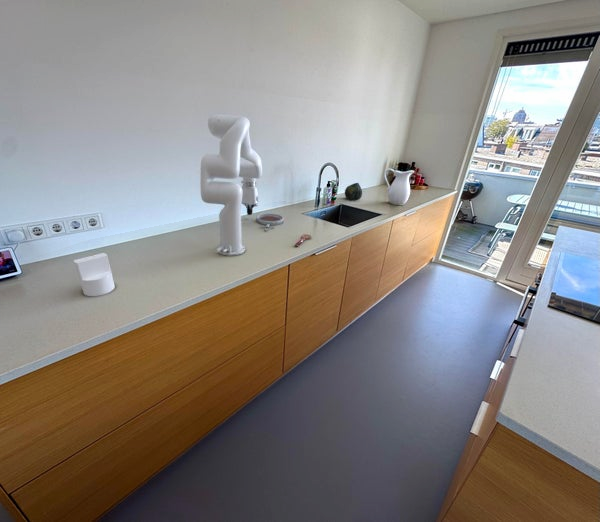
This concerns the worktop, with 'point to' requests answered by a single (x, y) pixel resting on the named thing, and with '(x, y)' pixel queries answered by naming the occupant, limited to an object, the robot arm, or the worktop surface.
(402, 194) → the pitcher
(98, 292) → the cylinder with rectangular tab
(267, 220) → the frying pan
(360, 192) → the squash
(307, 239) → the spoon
